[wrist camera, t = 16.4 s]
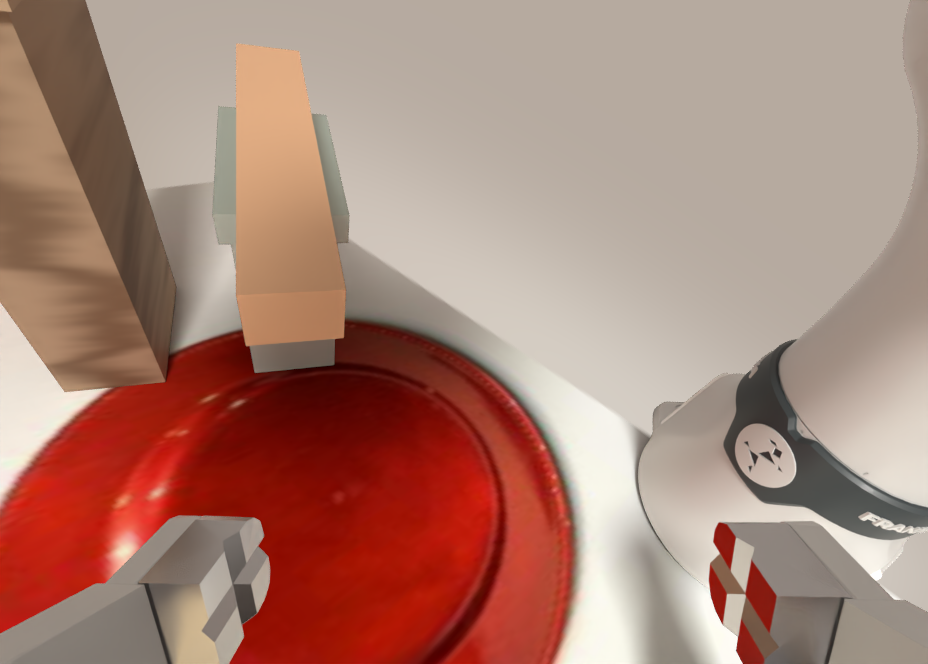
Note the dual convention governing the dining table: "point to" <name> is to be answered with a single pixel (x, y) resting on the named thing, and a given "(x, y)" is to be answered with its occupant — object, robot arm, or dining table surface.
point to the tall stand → (75, 208)
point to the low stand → (225, 225)
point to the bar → (282, 207)
